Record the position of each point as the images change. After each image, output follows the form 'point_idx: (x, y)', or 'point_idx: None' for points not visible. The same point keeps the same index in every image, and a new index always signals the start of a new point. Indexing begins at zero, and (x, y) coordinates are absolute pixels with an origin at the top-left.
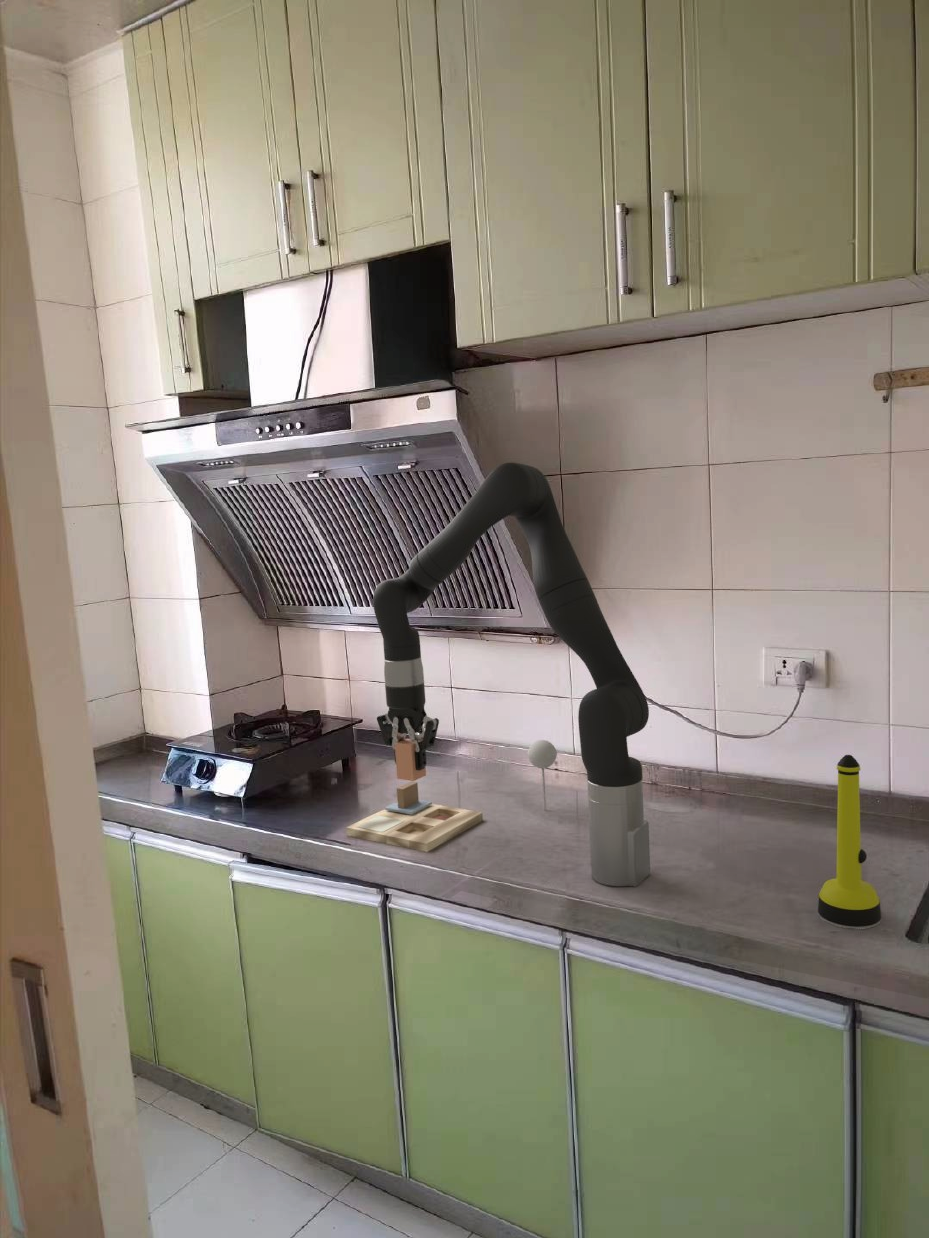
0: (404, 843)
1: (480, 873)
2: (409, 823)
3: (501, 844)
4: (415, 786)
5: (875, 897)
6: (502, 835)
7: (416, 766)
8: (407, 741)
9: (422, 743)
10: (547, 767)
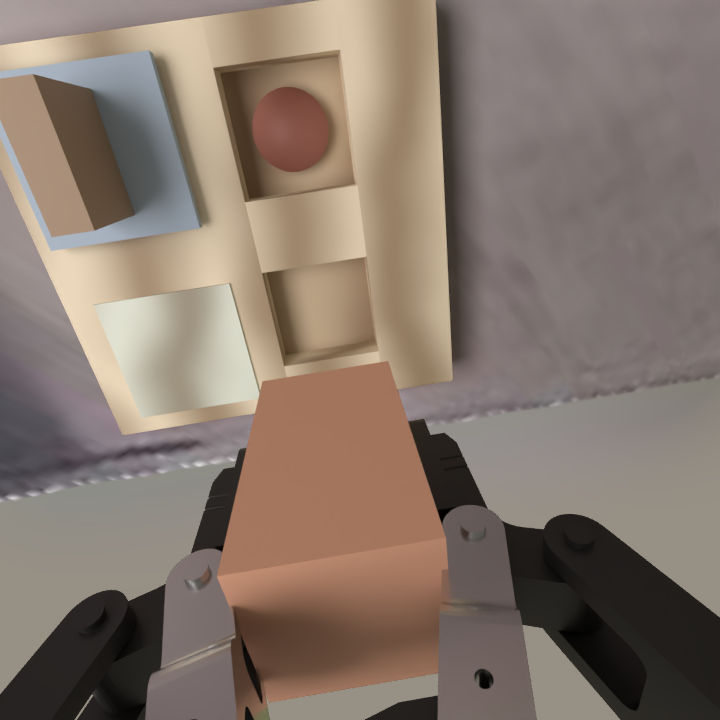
0: None
1: (644, 372)
2: (265, 289)
3: (612, 174)
4: (54, 102)
5: None
6: (578, 94)
7: None
8: (317, 625)
9: (566, 649)
10: None
